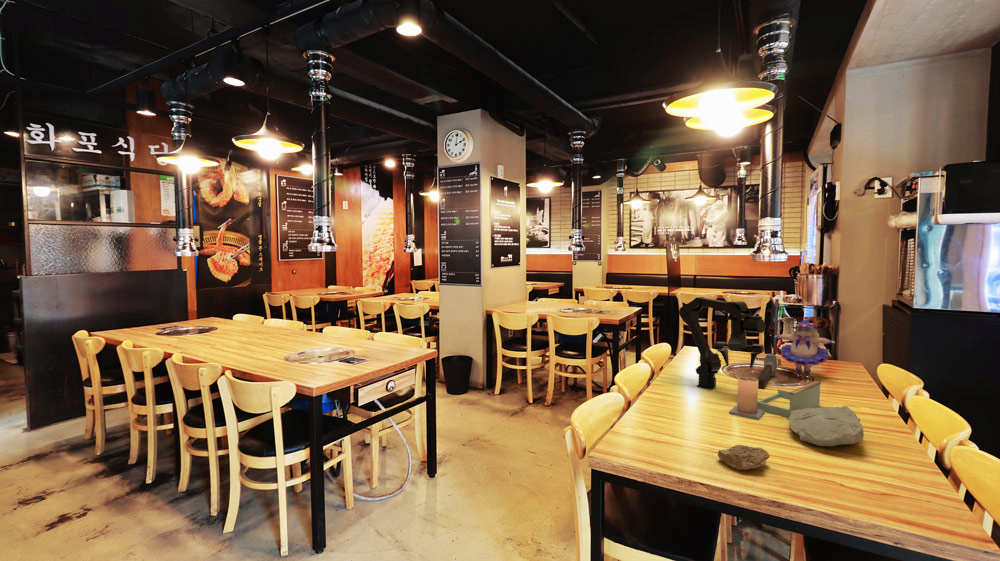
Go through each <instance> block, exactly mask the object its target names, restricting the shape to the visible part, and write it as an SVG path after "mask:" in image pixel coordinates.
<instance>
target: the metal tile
mask: <svg viewBox="0 0 1000 561" xmlns="http://www.w3.org/2000/svg"><path fill="white" fill-rule="evenodd" d="M728 412H729V413H728V414H729V415H733V416H737V417H743V418H746V419H752V420H756V421H759V420H760V419H762V417H763V416H764V414H765V413H766V412H765V410H760V409H757V413H756V414H747V413H742V412H740V411H738V410H737V404H736V405H734V407H732V408H731V409H730V410H729V411H728Z"/></svg>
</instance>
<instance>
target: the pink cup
mask: <svg viewBox="0 0 1000 561" xmlns="http://www.w3.org/2000/svg"><path fill="white" fill-rule="evenodd" d="M758 396H759V388H758V379H757V378H756V377H751V376H739V377H738V378H737V403H736V405H737V410H738V411H740V412H742V413H747V414H756V413H757V404H758V401H759V399H758V398H759V397H758Z"/></svg>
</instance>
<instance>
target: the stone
mask: <svg viewBox="0 0 1000 561" xmlns="http://www.w3.org/2000/svg"><path fill="white" fill-rule="evenodd" d="M788 420H789V425H790V427H791V428H790V429H791V430H792V431H793V432H794V433H795V434H797V435H798V436H799V440H800V441H803V442H805V443H809V444H812V445H816V446H818V447H835V446H836V447H837V446H840V445H854V444H855V443H858V442H859V443H860V442H862V441H863V440H864V436H865V433H864V425H863V424H862V422H861V419H860V417H858V415H857V413H855V411H853V410H852V409H850V407H849V406H844V405H843V406H823V407H816V408H804V409H799V410H791V412H790V416H789V418H788Z"/></svg>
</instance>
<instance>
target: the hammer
mask: <svg viewBox="0 0 1000 561" xmlns="http://www.w3.org/2000/svg"><path fill="white" fill-rule="evenodd" d="M777 364H778V359H777V355H776V354H775V353H767V354H766V355H765V357H764V360H763V369H762V370H761V371H760V372H759V374H758V376H757V378H756V379H758V389H762V390H763V389H764V390H765V388H766V386H767V384H768V382H769V378H771V376H773V377H772V378H774V377H775V376H776V374H777V371H778V370H777V367H778V365H777Z"/></svg>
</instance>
